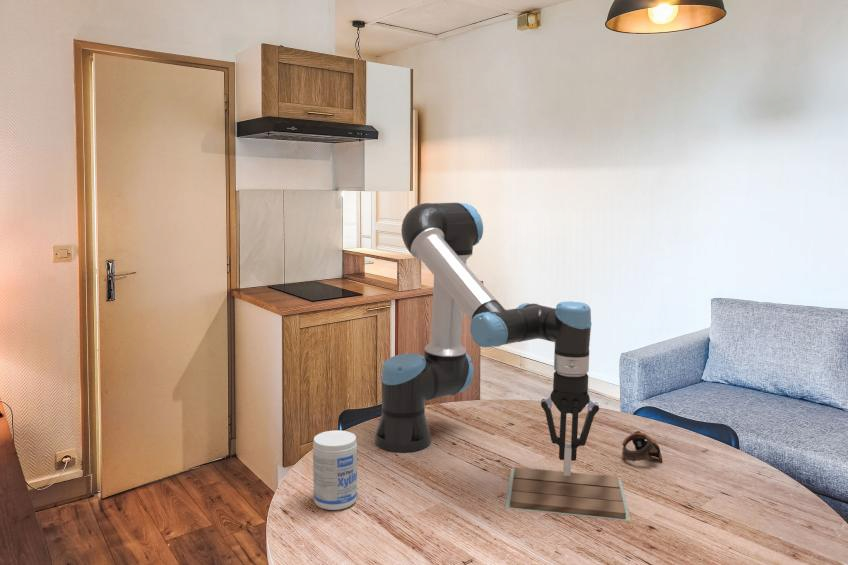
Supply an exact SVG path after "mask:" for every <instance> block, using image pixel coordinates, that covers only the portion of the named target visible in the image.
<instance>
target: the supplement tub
mask: <svg viewBox="0 0 848 565" xmlns="http://www.w3.org/2000/svg"><path fill="white" fill-rule="evenodd" d="M312 456H313V457H312V460H313V462H312V463H313V464H312V465H313V467H312V468H313V469H312V470H313V472H312V473H313V476H312V477H313V502H314V504H315V505H316V506H317V507H319V508H321V509H323V510H329V511H338V510H344V509H348V508H349V507H351V506H352V505H354V504H355V503H356V500H357V497H358V484H357V483H358V467H357V466H358V463H357V462H358V459H357V458H358V444H357V435H356V434H354V433H353V432H350V431H347V430H340V429H339V430H328V431H322V432H320V433H318V434H316V435H315V436H314V437H313V444H312Z"/></svg>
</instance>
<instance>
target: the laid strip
mask: <svg viewBox="0 0 848 565" xmlns="http://www.w3.org/2000/svg"><path fill="white" fill-rule="evenodd" d="M510 507H518V508H528V509H538V510H548V511H557V512H567V513H577V514H587V515H596V516H606V517H616V518H626V512H625V507H624V503H623V502H620V501H610V500H600V499H590V498H579V497H569V496H559V495H549V494H539V493H528V492H518V491H512V492H511V500H510Z"/></svg>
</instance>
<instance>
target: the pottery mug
mask: <svg viewBox="0 0 848 565" xmlns="http://www.w3.org/2000/svg"><path fill="white" fill-rule="evenodd" d="M631 441H632V443H633V445H634V448H635V449H634V450H630V449H628V448H627V445H628V444H629V443H630V442H631ZM622 446H623V447H622V453H621V455H622V456H621V457H622V460H624V461H632V462H636V461H642V460H647V461H650V457H654V458H657V459H658V460H659V462H660V463H661V464H662V463H663V456H662V453H661V449H660V446H659V444H658V442H656V440H655V439H653V438H651V437H650V436H649V435H648V434H646V433H644V432H641V431H640V430H637V431H634V433H632V434H630V435H628V436H627V437H625V439H624V440H623V442H622Z"/></svg>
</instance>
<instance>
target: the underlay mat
mask: <svg viewBox="0 0 848 565" xmlns="http://www.w3.org/2000/svg"><path fill="white" fill-rule="evenodd" d="M514 470H515V469H510V472H509V474H510V475H509V480H508V487H507V488H508V489H507V492H506V494H507V495H506V500H505V509H513V510H521V511H530V512H539V513H548V514H549V513H550V514H558V515H568V516H579V517H586V518H596V519H597V518H598V519H607V520H616V521H626V522H627V521H628V522H631V521H632V520H631V517H630V512H629V507H628V504H627V500H626V495H625V492H624V491H625V490H624V487H623V482H622V481H623V480H622V479H620V478H618V481H619V485H620V490H621V494H622V498H623V503H624V507H625V512H626V518H616V517H606V516H596V515H587V514H577V513H567V512H557V511H548V510H538V509H528V508H518V507H510V500H511V492H512V485H513V478H514Z"/></svg>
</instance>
